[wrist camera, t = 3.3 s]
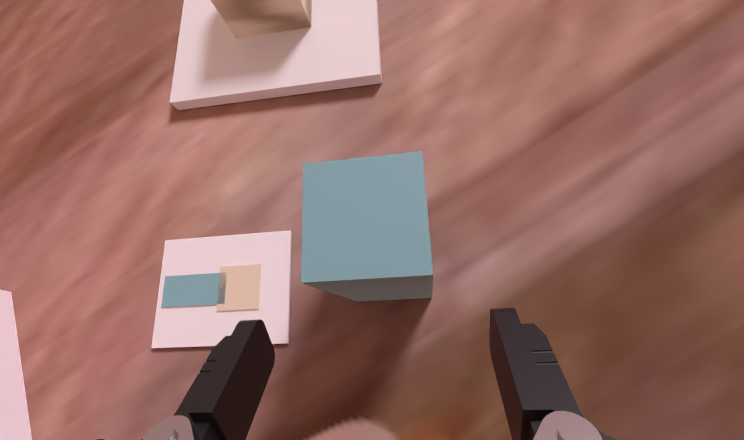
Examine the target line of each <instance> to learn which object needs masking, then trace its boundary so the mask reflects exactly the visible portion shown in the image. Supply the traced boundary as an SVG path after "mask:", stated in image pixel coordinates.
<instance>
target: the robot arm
mask: <svg viewBox="0 0 744 440" xmlns="http://www.w3.org/2000/svg"><path fill="white" fill-rule="evenodd" d="M490 352H491V358H492V362H493V366H494V370H495V374H496V378H497V382H498V386H499V390H500V393H501V397H502V401H503V405H504V409H505V413H506V417H507V421H508V425H509V428H510V432H511V436H512V440H616V439H613V438H611V437H609V436H607V435H605V434H603V433H601V432H600V431H598V430H597V429H596V428H595V427H594V426H593V425H592V424H591V423H590V422H589V421H587V420H586V419H585V418H584V416H583V415H582V414H581V412H580V410H579V408H578V406H577V403H576V401H575V399H574V397H573V395H572V392H571V390H570V388H569V386H568V383H567V381H566V379H565V377H564V375H563V372H562V370H561V368H560V366H559V365H558V361H557V359H556V357H555V355H554V353H553V352H552V348H551V346H550V343H549V341H548V339H547V337H546V335H545V334H544V333H543V332H542V331H541V330H540V329H539V328H538V327H537V326H536V325H535V324H534V323H533V324H521V323H520V320H519V317H518V315H517V312H516V310H515V309H514V308H502V309H491V310H490ZM274 360H275V353H274V348H273V345H272V342H271V340H270V337H269V334H268V332H267V329H266V326H265V324H264V322H263V321H262V320H241V321H239V322H238V324H237V325H236V327H235V329H234V331H233V333H232V334H231V336H225V337H224V338H223V339H222V340H221V341H220V342H219V343H218V344H217V345H216V346H215V347H214V348H213V350H212V351H211V353H210V355H209V357H208V358H207V360H206V363H204V365H203V367H202V369H201V370H200V374H198V375H197V377H196V379H195V380H194V382H193V384H192V386H191V387H190V389H189V391H188V392H187V394H186V396H185V398H184V399H183V401H182V403H181V404H180V406H179V408H178V410H177V411H176V413H175V414H174V416H172V417H169V418H166V419H164V420H163V421H161V422H159V423H158V424H157V425H155V426H154V427H153V428H152V429H151V430H150V431H149V432H148V433H147V435H146V436H145V437H144V439H142V440H245V439H246V437H247V434H248V431H249V429H250V426H251V424H252V421H253V418H254V416H255V413H256V410H257V408H258V405H259V403H260V400H261V397H262V395H263V392H264V389H265V387H266V384H267V382H268V379H269V376H270V374H271V371H272V368H273V365H274ZM98 440H103V439H98Z"/></svg>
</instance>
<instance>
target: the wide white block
mask: <svg viewBox="0 0 744 440" xmlns="http://www.w3.org/2000/svg"><path fill="white" fill-rule="evenodd" d="M0 440H32V437H31V429H30V422H29V415H28V408H27V401H26V394H25V387H24V380H23V373H22V366H21V359H20V352H19V344H18V337H17V330H16V323H15V316H14V309H13V302H12V295H11V292H8V291H4V290H0Z"/></svg>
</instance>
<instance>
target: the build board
mask: <svg viewBox="0 0 744 440" xmlns="http://www.w3.org/2000/svg"><path fill="white" fill-rule="evenodd" d="M380 83H382V72H381V54H380V35H379V17H378V0H312V14H311V27H308V28H302V29H296V30H289V31H283V32H277V33H270V34H264V35H258V36H251V37H245V38H239V39H236V37H235V36H234V34H233V33H232V31H231V30H230V28H229V27H228V26H227V24H226V23H225V21H224V20H223V18H222V17H221V15H220V14H219V12H218V11H217V9H216V8H215V6H214V5H213V3H212V2H211V0H184V5H183V12H182V19H181V26H180V33H179V40H178V47H177V54H176V61H175V68H174V75H173V82H172V89H171V96H170V103H171V104H172V105H173V106H174V107H175V108H176V109H178V110H184V109H192V108H199V107H207V106H214V105H222V104H229V103H237V102H244V101H252V100H259V99H267V98H274V97H282V96H290V95H297V94H305V93H312V92H320V91H327V90H335V89H342V88H350V87H357V86H365V85H372V84H380Z"/></svg>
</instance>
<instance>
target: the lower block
mask: <svg viewBox="0 0 744 440" xmlns="http://www.w3.org/2000/svg"><path fill="white" fill-rule="evenodd" d="M211 2H212V3H213V5H214V6H215V8H216V9H217V11H218V12H219V14H220V15H221V17H222V18H223V20H224V21H225V23H226V24H227V26H228V27H229V28H230V30H231V31H232V33H233V34H234V36H235V37H236V39H239V38H245V37H251V36H258V35H264V34H270V33H277V32H283V31H289V30H296V29H302V28H308V27H311V14H312V0H211Z"/></svg>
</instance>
